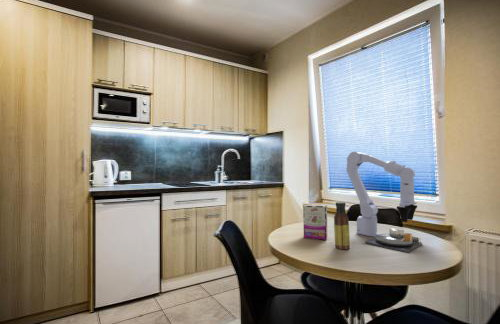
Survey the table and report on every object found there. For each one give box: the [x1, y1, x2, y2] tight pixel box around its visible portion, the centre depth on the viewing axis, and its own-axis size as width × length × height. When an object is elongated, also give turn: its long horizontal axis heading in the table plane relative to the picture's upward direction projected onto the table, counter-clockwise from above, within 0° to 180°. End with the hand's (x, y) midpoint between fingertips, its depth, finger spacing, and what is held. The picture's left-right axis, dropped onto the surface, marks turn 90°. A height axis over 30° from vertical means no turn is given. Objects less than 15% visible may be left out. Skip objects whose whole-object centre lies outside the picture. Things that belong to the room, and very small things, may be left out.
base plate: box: [365, 234, 423, 254], centre depth 123 cm, size 18×18×3 cm
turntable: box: [375, 232, 413, 246], centre depth 123 cm, size 15×15×5 cm
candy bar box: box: [302, 204, 328, 241], centre depth 133 cm, size 11×5×16 cm, turn 68°
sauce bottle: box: [333, 201, 351, 250], centre depth 117 cm, size 6×6×20 cm
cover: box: [389, 227, 405, 238], centre depth 126 cm, size 6×6×3 cm
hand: (407, 220), depth 129 cm, fingers open, 7 cm apart
